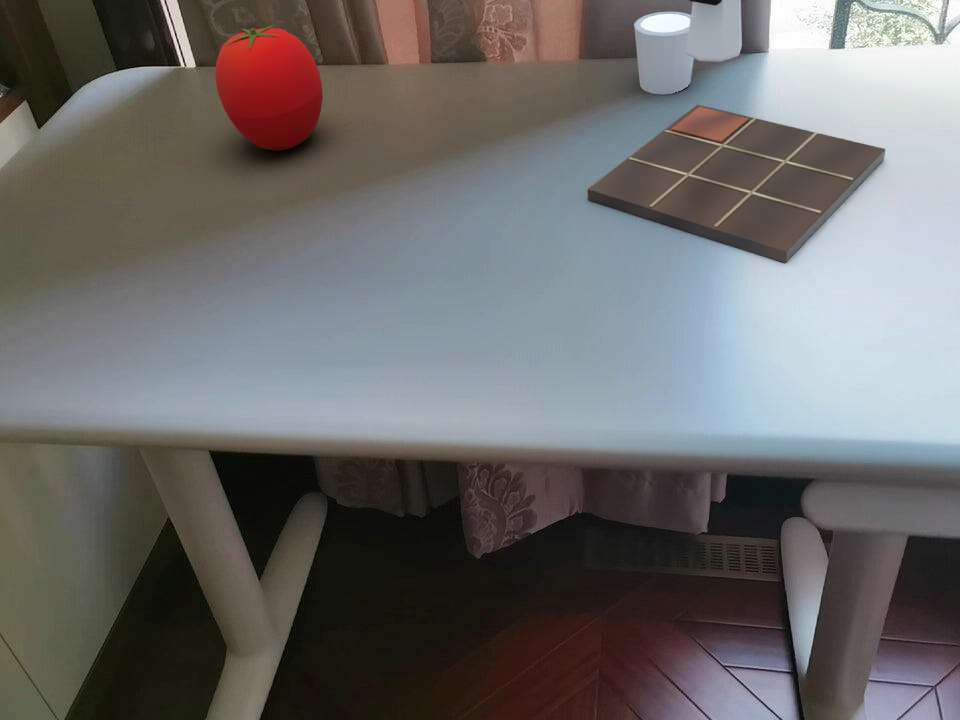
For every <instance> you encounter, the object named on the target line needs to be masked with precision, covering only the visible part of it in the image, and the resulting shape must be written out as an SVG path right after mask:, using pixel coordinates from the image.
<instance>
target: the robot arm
mask: <svg viewBox="0 0 960 720" xmlns="http://www.w3.org/2000/svg"><path fill="white" fill-rule="evenodd" d="M688 1H689V2H691V3H693V2H698V3H704V4H709V5H718V4H719V3H721V1H722V0H688Z"/></svg>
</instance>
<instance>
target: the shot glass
mask: <svg viewBox="0 0 960 720" xmlns="http://www.w3.org/2000/svg"><path fill="white" fill-rule="evenodd" d="M690 19H691V13H686V12H681V11H660V12H653V13H650V14H649V13H648V14H645V15H643V16H642V17H639V18H638V19H637V20H636V21H635V22H634V23H633V25H634V37H635V47H636V48H635V49H636V59H637V69H638V81H639V87H641V88H640V89H642V90H643V91H644V92H646V93H649V94H653V95H674V94H676V93H675V92H677V93H679V92H678V91H681V90H683V89H684V88H686V87H688V85H689V84H690V85H691V81H692V76H693V75H692V74H693V66H694V60H695V58H693V57H691V56H689V55H687V54H686V47H687V40H688V33H689V26H690ZM690 85H689V86H690ZM688 88H689V87H688ZM683 91H684V90H683ZM681 92H682V91H681ZM673 93H674V94H673Z"/></svg>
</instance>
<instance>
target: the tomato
mask: <svg viewBox="0 0 960 720" xmlns="http://www.w3.org/2000/svg"><path fill="white" fill-rule="evenodd" d="M274 26H276V23H275V24H273V25H269V26H266V27H263V28H257V29H256V28H254V27H253V28H250V29H245V28H241V30H242V31H244V32H240V33H237V34H235V35H233V36H231V37H230V38H228V40H226V42H225V43H223V44H222V47H220V49H219V54H218V57H217V59H216V62H215V72H214V78H215V83H216V84H215V85H216V90H217V95H218V97H219V99H220V103H221V105H222V108H223V109H224V111H225V113H226V115H227V117H228V119H229V120H230V122H231V123H232V124H233V126H234V127H235V128H236V130H237V131H238V132H239V133H240V134H241V135H242V136H243V138H245V139H246V140H247V141H248V142H250V143H252V144H254V145H255V146H257V147H258V148H261V149H265V150H270V151H285V150H288V149H292V148H294V147H297V146H298V145H300V144H301V143H303V142H304V141H305V140H307V139H308V138H310V136H311V135H312V133H313V131H314V130H315V128H316V127H317V125H318V123H319V119H320V116H321V112H322V106H323V99H324V93H323V82H322V78H321V74H320V71H319V67H318V66H317V63H316V60H315V58H314V57H313V56H312V54H311V52H310V50H309V49H308V47H307V46H306V44H304V43H303V42H302V40H300V38H298V37H297V36H295V35H293V34H292V33H290V32H288V31H286V30H284V29H282V28H276V27H274Z"/></svg>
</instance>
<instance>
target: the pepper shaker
mask: <svg viewBox="0 0 960 720" xmlns="http://www.w3.org/2000/svg"><path fill="white" fill-rule="evenodd" d="M741 2H742V1H741V0H722V1H721V3H719V4H718V5H709V4H704V3H698V2H692V5H691V13H690V15H691V19H690V26H689V33H688V40H687V47H686V54H687V55H689V56H691V57H693V58H694V60H696V61H699V62H714V63H715V62H716V63H717V62H718V63H722V62H725V61H727V60H730V59H734V58H736V57H739V56H740V54H741V50H742V47H743V35H742V31H743V30H742V3H741Z"/></svg>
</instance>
